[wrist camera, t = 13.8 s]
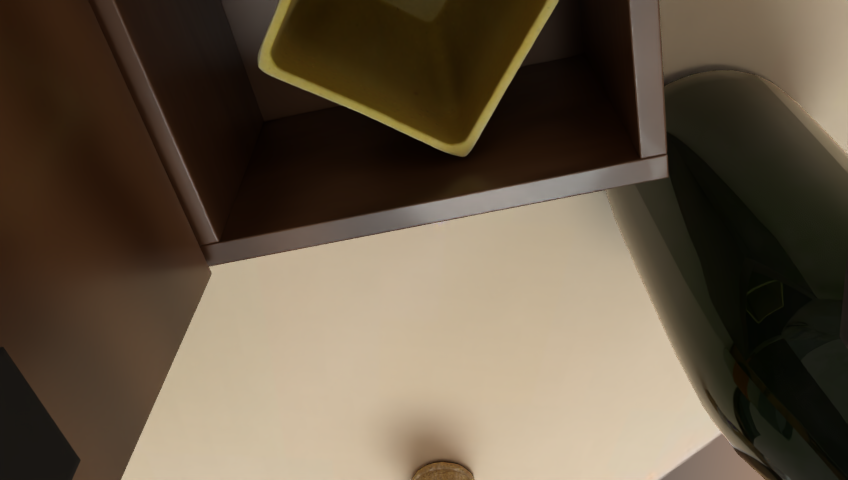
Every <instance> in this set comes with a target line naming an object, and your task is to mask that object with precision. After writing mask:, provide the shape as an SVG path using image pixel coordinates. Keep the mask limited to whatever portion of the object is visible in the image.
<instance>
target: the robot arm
mask: <svg viewBox="0 0 848 480" xmlns="http://www.w3.org/2000/svg"><path fill="white" fill-rule="evenodd" d="M839 337H840V338H841V340H842V341H843V343H844V344H845V346H846V347H847V349H848V252H847V262H846V273H845V283H844V294H843V304H842V315H841V325H840V336H839ZM80 461H81V460H80V458H79V457H78V455H77V454H76V452H75V451H74V450H73V448H72V447H71V445H70V444H69V442H68V441H67V439H66V438H65V436H64V435H63V433H62V432H61V430H60V429H59V428H58V426H57V425H56V423H55V422H54V420H53V419H52V417H51V416H50V414H49V413H48V411H47V410H46V408H45V407H44V405H43V404H42V403H41V401H40V400H39V398H38V397H37V395H36V394H35V392H34V391H33V389H32V388H31V386H30V385H29V383H28V382H27V381H26V379H25V378H24V376H23V375H22V373H21V372H20V370H19V369H18V367H17V366H16V364H15V363H14V361H13V360H12V359H11V357H10V356H9V354H8V353H7V351H6V350H5V348H4V347H0V480H72V479H73V476H74V474H75V472H76V470H77V468H78V465H79V463H80Z"/></svg>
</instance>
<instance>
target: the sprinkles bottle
mask: <svg viewBox="0 0 848 480" xmlns="http://www.w3.org/2000/svg"><path fill="white" fill-rule="evenodd" d="M413 480H474V478H473V476H472V474H471V473H470V472H469V471H468V470H466V469H465V468H464V467H462V466H460V465H458V464H455V463H446V462H439V463H432V464H429V465H426V466H424V467H423V468H422V469H420V470H418V471H417V473H416V474H415V476H414V477H413Z"/></svg>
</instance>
